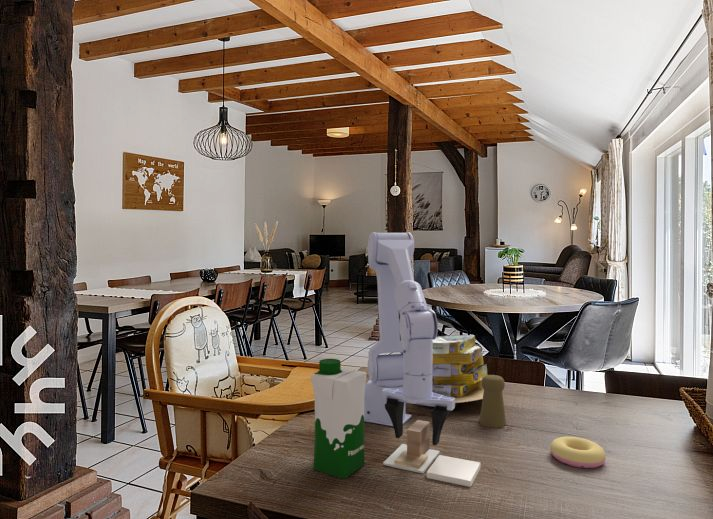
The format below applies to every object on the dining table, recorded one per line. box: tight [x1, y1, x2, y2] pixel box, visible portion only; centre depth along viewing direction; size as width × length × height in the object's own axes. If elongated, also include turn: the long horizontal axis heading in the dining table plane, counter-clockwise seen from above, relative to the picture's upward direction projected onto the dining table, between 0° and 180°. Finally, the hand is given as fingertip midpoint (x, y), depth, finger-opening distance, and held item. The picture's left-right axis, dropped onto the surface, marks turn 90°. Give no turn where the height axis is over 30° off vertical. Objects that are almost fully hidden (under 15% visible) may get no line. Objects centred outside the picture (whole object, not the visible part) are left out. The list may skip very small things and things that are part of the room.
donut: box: [549, 436, 606, 469], centre depth 103 cm, size 10×5×9 cm
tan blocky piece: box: [394, 419, 431, 469], centre depth 103 cm, size 10×5×6 cm, turn 154°
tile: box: [426, 454, 482, 488], centre depth 97 cm, size 8×1×8 cm
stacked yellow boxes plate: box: [432, 334, 488, 405], centre depth 140 cm, size 25×25×17 cm
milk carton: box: [310, 358, 368, 480], centre depth 99 cm, size 9×9×20 cm
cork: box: [478, 374, 507, 429], centre depth 122 cm, size 6×6×11 cm
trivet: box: [382, 443, 441, 474], centre depth 103 cm, size 8×10×1 cm
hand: (417, 439), depth 104 cm, fingers open, 7 cm apart
